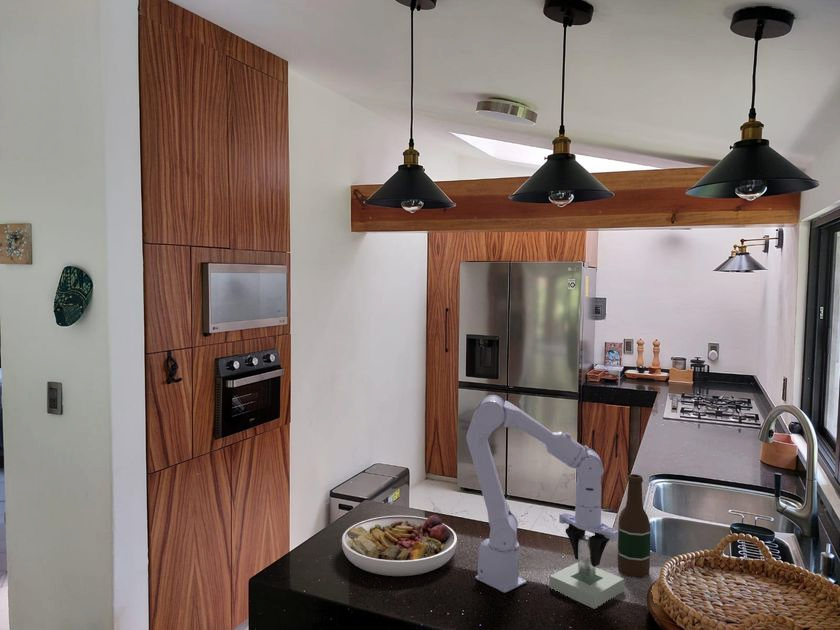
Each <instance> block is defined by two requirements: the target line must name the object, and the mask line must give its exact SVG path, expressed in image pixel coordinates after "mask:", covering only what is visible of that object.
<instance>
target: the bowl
mask: <svg viewBox="0 0 840 630" xmlns="http://www.w3.org/2000/svg"><path fill="white" fill-rule="evenodd" d="M457 537H458V536H457V534H456V532H455V531H454V530H453V529H452V528H451V527H449V526H448V525H446V524H445V523H443V521H442V519H441V517H440V516H439V515H437V514H432V515H430V516H429V517H421V516H415V515H386V516H379V517H373V518H369V519H365V520H363V521H359V522H358V523H355V524H353V525H351V526H350V527H348V528H347V529H346V530H345V531H344V533H343V534H342V537H341V547H342V550H343V553H344V555H345V557H346V558H347V559H348V561H349V562H351V564H353V565H354V566H355V567H357V568H359V569H361V570H363V571H366V572H368V573H372V574H376V575H381V576H387V577H389V576H392V577H407V576H408V577H409V576H416V575H417V576H418V575H422V574H425V573H429V572H431V571H434V570H437V569H438V568H441V567H443V566H444V565H445V564H446V563H447V562H449V561H450V559H452V557H453V556H454V554H455V552H456V550H457V546H458V545H457V544H458V538H457Z"/></svg>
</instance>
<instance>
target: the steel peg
mask: <svg viewBox="0 0 840 630" xmlns="http://www.w3.org/2000/svg"><path fill="white" fill-rule="evenodd" d="M591 536H592V535H589V534H588V535H587V534H585V535H581V536H579V537H578V560H577V562H578V573H579V574H580V575H582V576H587V577H591V576H594V575H596V568H597V566H596V567H594V566H592V551H591V545H590V541H589V537H591Z"/></svg>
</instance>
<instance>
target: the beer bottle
mask: <svg viewBox="0 0 840 630" xmlns="http://www.w3.org/2000/svg"><path fill="white" fill-rule="evenodd" d="M626 478H627V482H628V484H627V495H626V502H625V506H624V508H623V509H622V510H621V511H620V514H619V516H618V522H617V523H618V524H617V531H618V540H617V569H618V572H619V573H620V574H622V575H624V576H627V577H629V578H634V577H636V579H643V578H645V577H647V576H649V575H650V569H651V568H650V567H651V566H650V564H651V563H650V561H651V558H650V557H651V523H650V520H649V515H648V514H647V512H646V511H645V509H644V503H643V482H644V479H643V476H642V475H639V474H636V473H632V474H628V475H627V477H626Z"/></svg>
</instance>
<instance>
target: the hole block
mask: <svg viewBox="0 0 840 630" xmlns="http://www.w3.org/2000/svg"><path fill="white" fill-rule="evenodd" d="M584 582H585V583H584ZM589 584H590V585H589ZM550 588H551V589H550ZM549 589H550V590H552V589H554V590H555V591H554V590H553V591H554V592H556V591H558V592H560V593H559V594H561V593H562V594H561V595H563V594H564V595H563V596H565V597H567V596H568V598H569V597H570V599H571V600H573V601H576V602H578V603H581V604H583V605H585V606H587V607H590V609H594V610H595V609H597V608H598V606H599V607H600V606H602V605H603V603H604V604H605V603H607V602H608V600H609V599H610V600H612V599H613V598H612V597H614V596H615V597H617V596H618V595H617V594H619V593H621V592H622V593H623V591H625V578H624V577H621V576H619V575H616V574H614V573H611V572H609V571H605V570H603V569H601V568H598V567H596V575H594V576H591V577H587V576H582V575H580V574H579V573H578V561H577V562H575V563H573V564H570V565H569V566H567V567H565V568H563V569H561V570H559V571H556V572H555V573H552V574H551V575H549ZM558 592H557V593H558ZM622 593H621V594H622ZM616 595H617V596H616ZM619 595H620V594H619ZM615 597H614V598H615ZM611 598H612V599H611ZM610 600H609V601H610ZM606 601H607V602H606Z"/></svg>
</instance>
